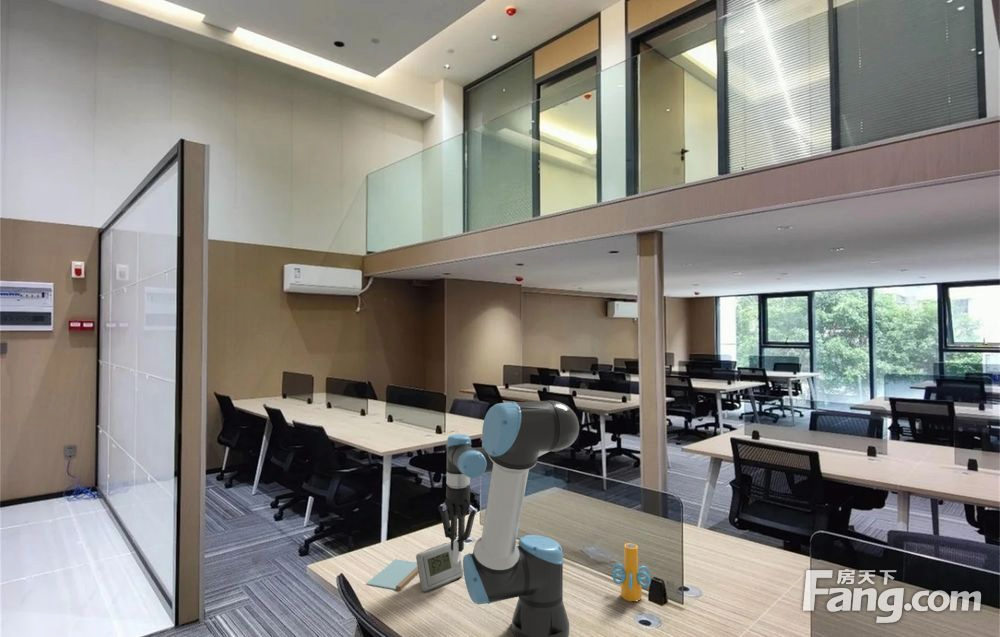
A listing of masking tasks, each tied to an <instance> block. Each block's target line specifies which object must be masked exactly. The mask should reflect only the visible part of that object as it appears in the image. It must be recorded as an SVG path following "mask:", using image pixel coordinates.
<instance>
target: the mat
mask: <svg viewBox="0 0 1000 637" xmlns="http://www.w3.org/2000/svg"><path fill="white" fill-rule="evenodd" d="M417 575H419V572H418V566H417V561H412V560H411V561H410V560H404V559H398V558H397V559H396V558H395V559H394V560H392V561H391V562H390V563H389V564H388V565H386V566H385V567H384V568H383V569H382V570H381V571H379V572H378V573H377V574H376V575H375V576H373V577H372V578H371V579H369V581H367V582H366V585H367V584H368V586H374V587H378V588H383V587H384V589H389V590H393V591H402V590H403V589H404V588H405V587H406V586H407V585H408V584H409V583H410V582H411V581H412V580H414V578H415V577H417Z"/></svg>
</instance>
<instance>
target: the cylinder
mask: <svg viewBox="0 0 1000 637" xmlns="http://www.w3.org/2000/svg"><path fill="white" fill-rule="evenodd" d="M623 550H624V551H623V553H624V554H623V555H624V556H623V558H624V559H623V560H624V561H623V562H624V563H623V564H624V565H622V564H621V563H619V562H615V563H614V564H613V566H612V571H613V572H612V580H613V582H614V583H615V584H617V585H619V584H620V596H621V598H622V597H623V598H624V599H623V598H622V599H623V600H625V599H626V600H625V601H627V600H629V601H628V602H630V601H636V600H639V599H641V600H642V598H641V597H642V595H643V592H642V590H643V588H648V587H650V585H651V583H652V582H651V578H650V569H649V568H648V567H647V566H646V565H641V566H639V546H638V545H637V544H635V543H632V542H631V543H630V542H628V543H624V547H623ZM616 567H620V568H617V569H616ZM642 570H645V571H646V572H645V571H642ZM619 573H622V574H619ZM641 575H643V576H644V577H641ZM616 578H618V579H620V580H617V579H616ZM642 581H647V583H643V582H642ZM642 587H643V588H642Z"/></svg>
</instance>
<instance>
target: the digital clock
mask: <svg viewBox="0 0 1000 637" xmlns="http://www.w3.org/2000/svg"><path fill="white" fill-rule="evenodd" d="M415 558H416V562H417V566H418V572H419V573H418V576H419V583H420V589H421V591H422V592H426V593H427V592H428V591H431V590H436V589H437V588H440V587H442V586H445V585H447V584H450V583H452V582H454V581H456V580H457V579H459V578H462V577H463V576H464V571H463V562H462V559H461V560H460V561H459V562H458V563H454V562H453V550H451V541H449V542H445V543H442V544H439V545H435V546H434V547H431V548H428V549H426V550H424V551H421V552H418V553H417V554H416V556H415Z"/></svg>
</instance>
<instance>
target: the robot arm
mask: <svg viewBox="0 0 1000 637" xmlns="http://www.w3.org/2000/svg"><path fill="white" fill-rule="evenodd" d="M481 431H482V432H481V433H482V435H483V436H482V437H481V438H482V444H483V446H482V447H472V439H471V436H469V434H463V433H462V434H461V433H460V434H459V433H458V434H451V435H449V436H448V437H447V439H446V440H447V442H446V448H445V449H446V481H445V482H446V485H445V486H446V488H445V490H446V491H445V497H446V498H445V501H444V502H443V503H441V504H440V505H439V506H437V509H438V512H439V513H440V516H441V521H442V527H443V531H444V537H445V538H448V539H450V542H451V550H453V562H454V563H458V562H459V561H460V560H461V561H462V568H463V576H464V578H463V579H464V581H465V585H466V586H465V587H466V589H467V590H466V591H467V593H468V595H469V598H470V600H471V601H472V603H474V604H476V605H485V604H488V605H489V604H491V603H497V602H499V601H501V602H502V601H505V600H509V599H510V600H511V599H515V598H518V599H517V603H516V606H515V608H514V612H513V614H512V615H513V616H512V618H511V631H512V634H513V636H514V637H569V636H570V621H569V617H568V613H567V611H566V607H565V604H564V600H563V599H564V598H563V597H564V595H563V594H564V593H563V592H564V591H563V590H564V588H563V587H564V586H563V584H564V562H565V561H564V554H563V549H562V548H563V547H562V546H561V545H560V543H559V542H558V541H557V540H554V539H553V538H550V537H546V536H543V535H535V534H527V535H523V536H521V537H520V538H519V540H518V545H517V544H516V543H517V536H518V533H519V526H520V521H521V520H520V519H521V516H522V510H523V504H524V499H525V493H526V488H527V484H528V483H527V482H528V477H529V473H530V472H529V471H530V470H531V469H532V468H534V467H535V466H536V465H537V463H538V458H540V457H541V456H543V455H545V454H547V453H549V452H560V451H563V450H565V449H566V448H568V447H570V446H571V445H573V444H574V443H575V441H576V440H577V439H578V436H579V431H580V423H579V419H578V416H577V415H576V413H575V412H574V410H573V409H571V407H570V406H568V405H567V404H565V403H562V402H560V401H556V400H539V401H518V402H517V401H507V402H500V403H496V404H494V405H493V406H491V407H490V408H489V409H488V411H487V412H486V414H485V417H484V419H483V423H482V430H481ZM489 473H491V477H490V483H489V488H488V495H487V500H486V501H487V502H486V508H485V514H484V521H483V527H482V533H481V537H480V538H478V539H477V540H476V541H475V544H474V545H473V552H472V553H470V552H468V553H467V554H465V555H464V556H463V559H462V552H463V550H464V548H465V541H467V540H468V539H469V538H470V537H471V532H472V528H473V524H474V521H475V520H474V519H475V516H476V515H477V513H478V511H479V509H478V507H474V506H472V502H471V499H470V498H471V485H470V484H471V479H477V478H479V477H481V476H482V475H483V474H489ZM448 511H449V512H448ZM467 512H468V514H469V515H468V518H467V522H466V520H465V519H466V514H467ZM465 522H466V523H465ZM465 524H466V526H465Z"/></svg>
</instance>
